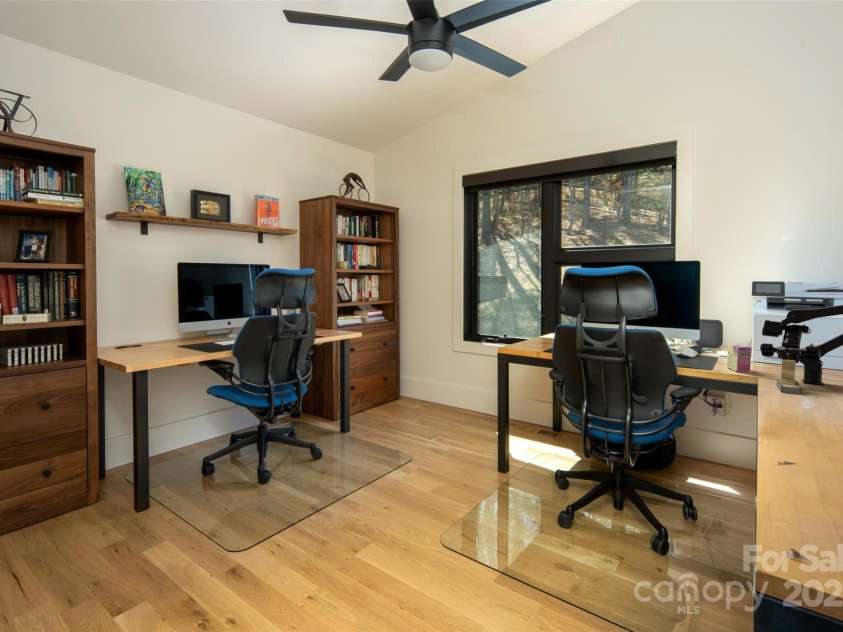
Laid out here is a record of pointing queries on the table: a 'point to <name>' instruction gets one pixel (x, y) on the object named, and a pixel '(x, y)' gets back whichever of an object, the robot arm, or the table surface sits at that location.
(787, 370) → the oak block
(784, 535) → the table surface
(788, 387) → the trap lane
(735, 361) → the box
